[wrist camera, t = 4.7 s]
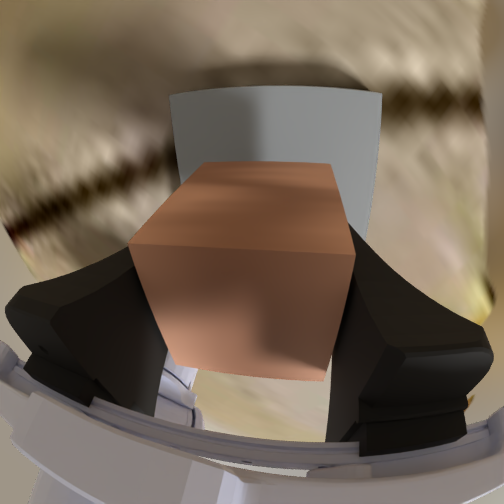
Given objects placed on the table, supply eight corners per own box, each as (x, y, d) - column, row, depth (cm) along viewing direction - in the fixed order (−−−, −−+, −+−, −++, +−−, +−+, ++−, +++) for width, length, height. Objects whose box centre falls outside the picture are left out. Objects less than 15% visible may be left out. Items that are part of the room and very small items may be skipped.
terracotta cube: (217, 261, 14) (175, 364, 9) (204, 162, 11) (127, 243, 6) (321, 267, 13) (323, 381, 8) (330, 163, 10) (355, 255, 5)
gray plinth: (205, 241, 21) (195, 261, 19) (185, 91, 15) (168, 95, 13) (354, 248, 19) (359, 270, 17) (370, 91, 13) (382, 93, 11)
